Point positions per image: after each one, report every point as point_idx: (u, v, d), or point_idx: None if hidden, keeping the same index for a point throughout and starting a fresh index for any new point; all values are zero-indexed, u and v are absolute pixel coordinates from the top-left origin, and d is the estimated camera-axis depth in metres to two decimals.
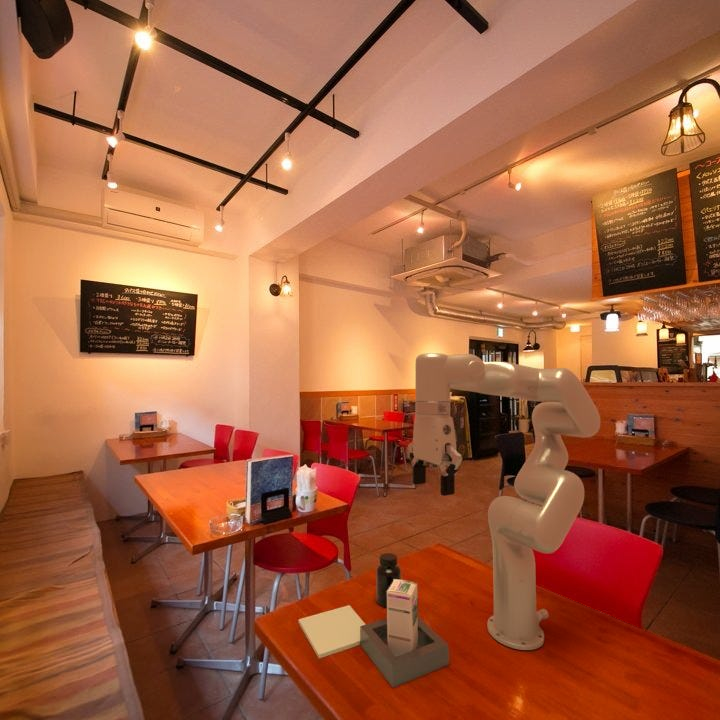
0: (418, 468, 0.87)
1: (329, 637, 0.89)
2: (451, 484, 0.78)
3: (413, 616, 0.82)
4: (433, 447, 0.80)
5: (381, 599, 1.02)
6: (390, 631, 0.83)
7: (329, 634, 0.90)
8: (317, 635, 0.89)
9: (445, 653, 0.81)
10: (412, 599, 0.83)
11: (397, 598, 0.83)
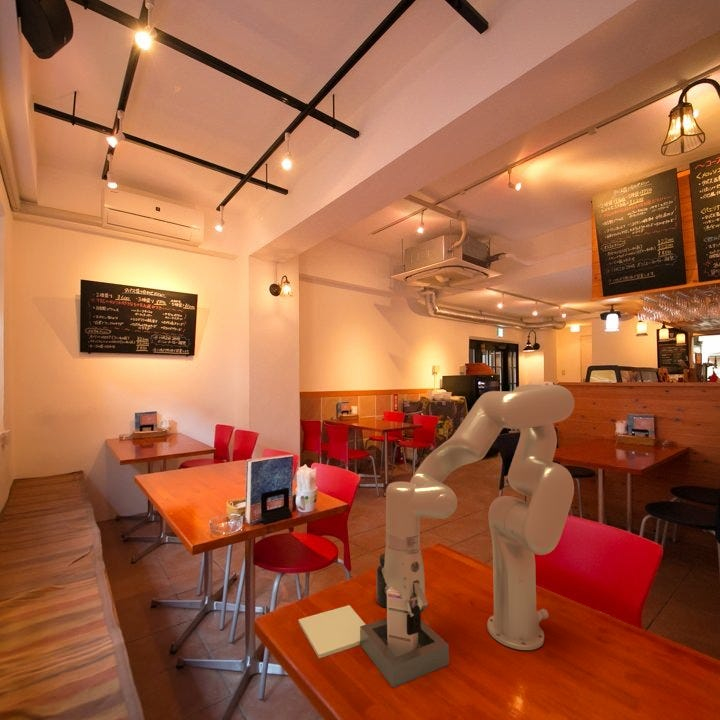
0: None
1: (329, 637, 0.89)
2: (417, 623, 0.81)
3: None
4: (402, 583, 0.82)
5: (381, 599, 1.02)
6: (390, 631, 0.83)
7: (329, 634, 0.90)
8: (317, 635, 0.89)
9: (445, 653, 0.81)
10: None
11: (397, 598, 0.83)
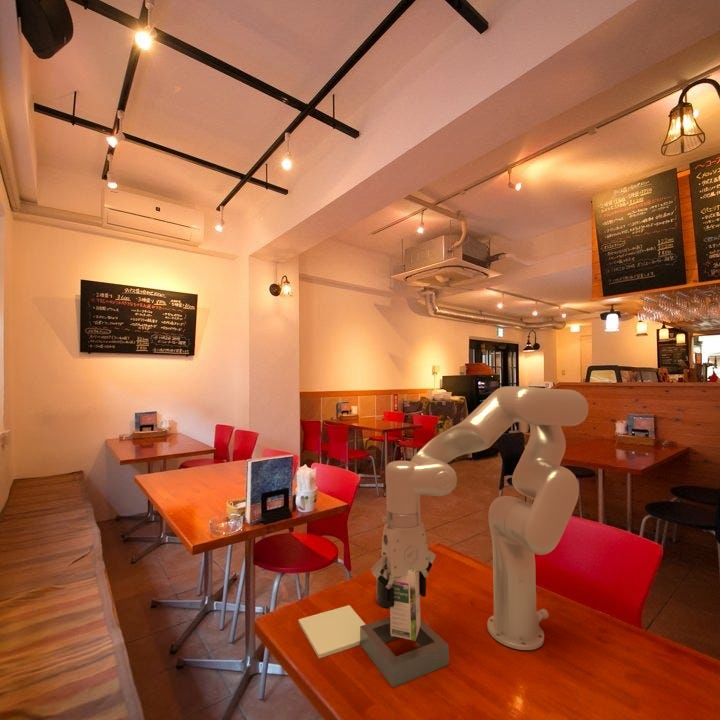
0: None
1: (329, 637, 0.89)
2: (385, 594, 0.83)
3: (394, 591, 0.83)
4: None
5: (381, 599, 1.02)
6: None
7: (329, 634, 0.90)
8: (317, 635, 0.89)
9: (445, 653, 0.81)
10: None
11: None
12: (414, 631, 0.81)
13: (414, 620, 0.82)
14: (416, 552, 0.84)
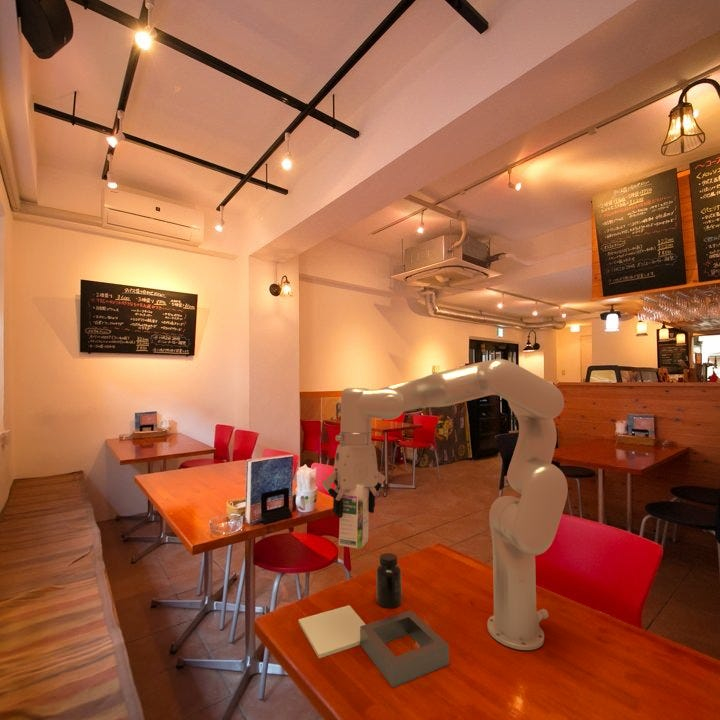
0: None
1: (329, 637, 0.89)
2: (335, 507, 0.89)
3: (343, 504, 0.90)
4: None
5: (381, 599, 1.02)
6: None
7: (329, 634, 0.90)
8: (317, 635, 0.89)
9: (445, 653, 0.81)
10: None
11: None
12: (360, 540, 0.88)
13: (360, 530, 0.88)
14: (365, 469, 0.91)
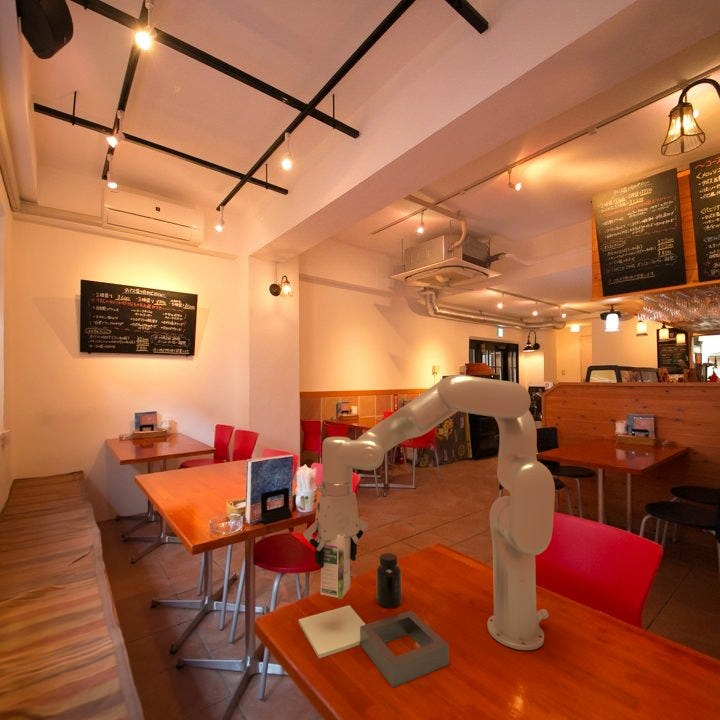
0: None
1: (329, 637, 0.89)
2: (316, 556, 0.91)
3: (324, 554, 0.92)
4: None
5: (381, 599, 1.02)
6: None
7: (329, 634, 0.90)
8: (317, 635, 0.89)
9: (445, 653, 0.81)
10: None
11: None
12: (340, 590, 0.89)
13: (341, 580, 0.90)
14: (346, 519, 0.92)
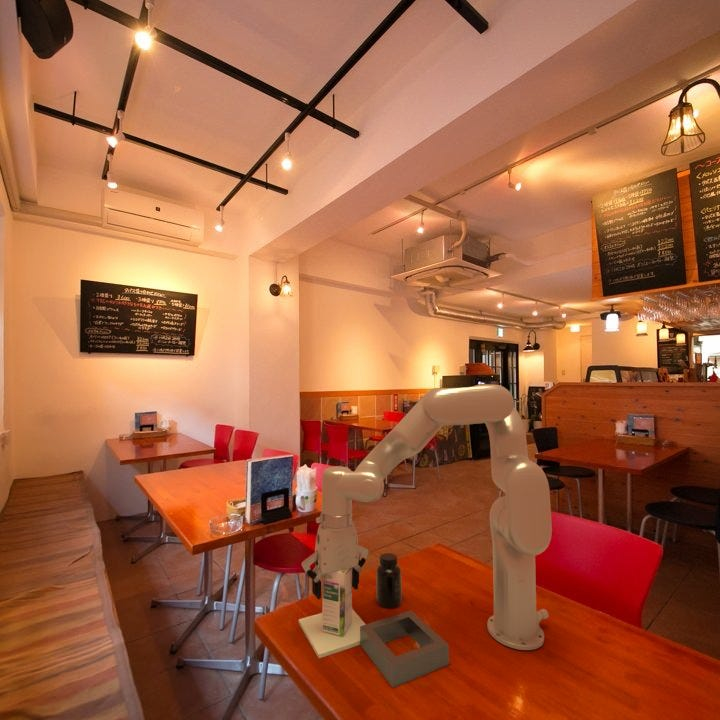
0: None
1: (329, 637, 0.89)
2: (313, 588, 0.90)
3: (326, 590, 0.91)
4: None
5: (381, 599, 1.02)
6: None
7: (329, 634, 0.90)
8: (317, 635, 0.89)
9: (445, 653, 0.81)
10: (325, 574, 0.91)
11: None
12: (342, 627, 0.89)
13: (342, 617, 0.89)
14: (346, 551, 0.92)
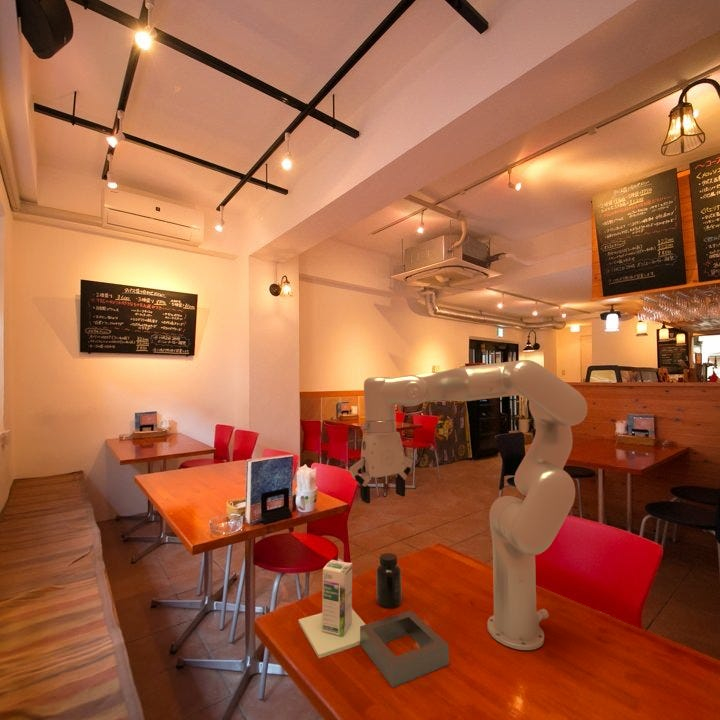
0: (397, 480, 0.96)
1: (329, 637, 0.89)
2: (362, 493, 0.90)
3: (326, 590, 0.91)
4: None
5: (381, 599, 1.02)
6: None
7: (329, 634, 0.90)
8: (317, 635, 0.89)
9: (445, 653, 0.81)
10: (325, 574, 0.91)
11: None
12: (342, 627, 0.89)
13: (342, 617, 0.89)
14: (392, 456, 0.92)
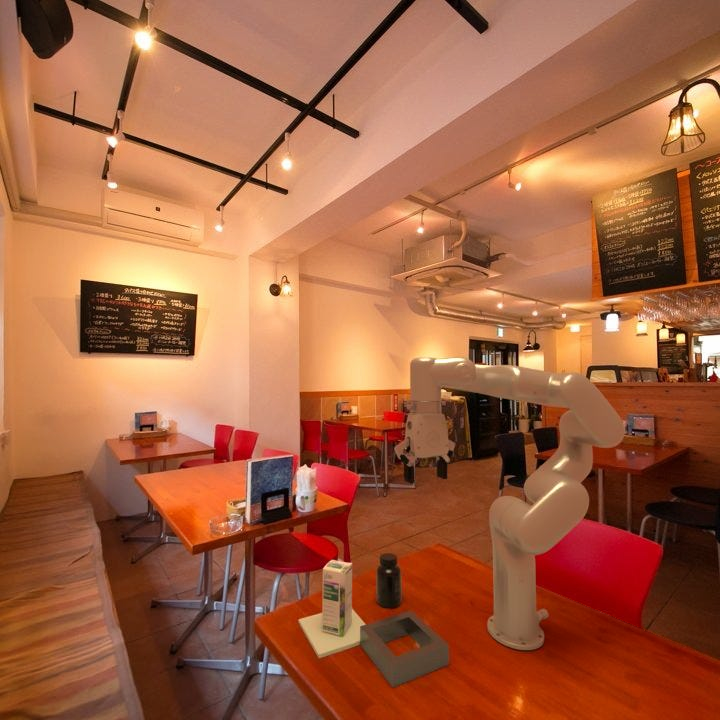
0: (439, 463, 0.95)
1: (329, 637, 0.89)
2: (406, 473, 0.90)
3: (326, 590, 0.91)
4: None
5: (381, 599, 1.02)
6: None
7: (329, 634, 0.90)
8: (317, 635, 0.89)
9: (445, 653, 0.81)
10: (325, 574, 0.91)
11: None
12: (342, 627, 0.89)
13: (342, 617, 0.89)
14: (437, 438, 0.91)
